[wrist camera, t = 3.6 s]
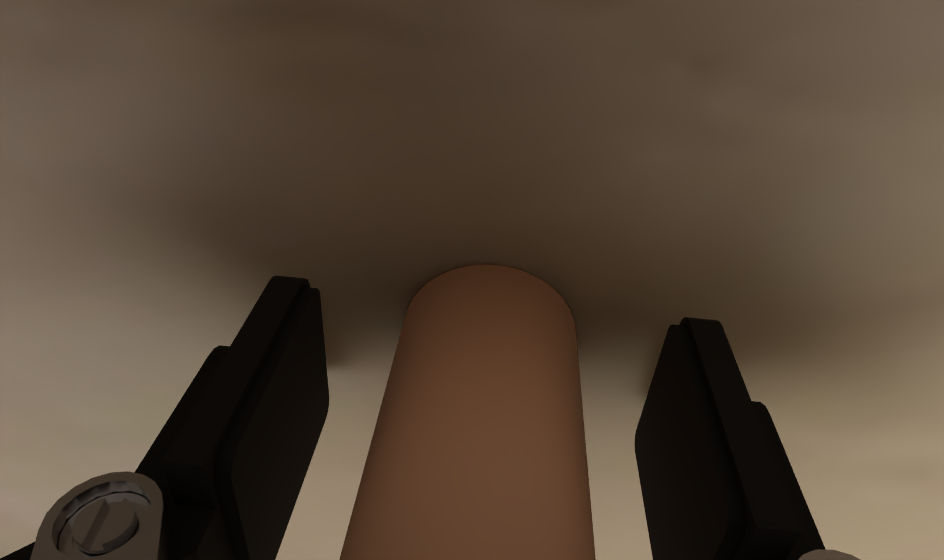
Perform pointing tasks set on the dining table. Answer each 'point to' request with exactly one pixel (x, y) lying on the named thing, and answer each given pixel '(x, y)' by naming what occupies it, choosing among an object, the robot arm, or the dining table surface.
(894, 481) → the dining table surface
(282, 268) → the dining table surface
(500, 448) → the block on handled rod
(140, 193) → the dining table surface
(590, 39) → the dining table surface
